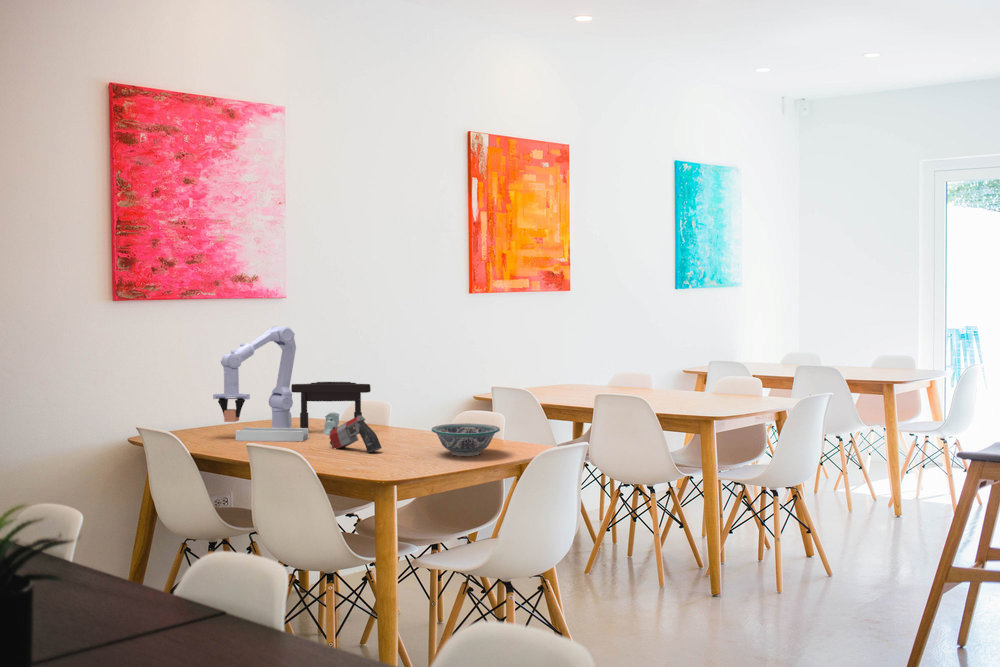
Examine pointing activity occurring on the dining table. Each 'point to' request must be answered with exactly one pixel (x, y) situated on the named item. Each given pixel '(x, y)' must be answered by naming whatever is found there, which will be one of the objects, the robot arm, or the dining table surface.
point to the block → (230, 415)
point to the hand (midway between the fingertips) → (231, 417)
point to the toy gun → (354, 434)
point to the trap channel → (272, 434)
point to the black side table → (329, 399)
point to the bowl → (465, 437)
